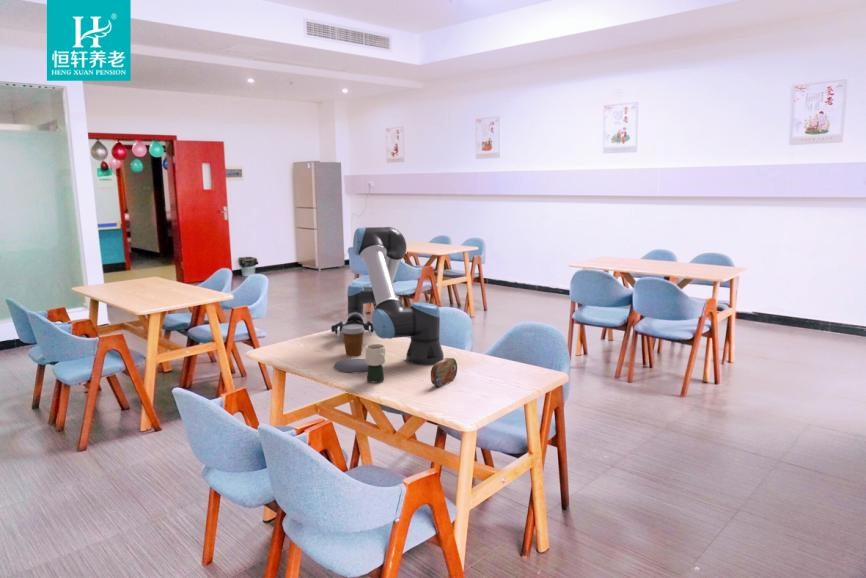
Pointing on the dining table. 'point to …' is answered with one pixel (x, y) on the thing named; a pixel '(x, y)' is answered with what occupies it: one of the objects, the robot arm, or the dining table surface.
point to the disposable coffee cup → (353, 339)
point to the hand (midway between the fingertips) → (354, 332)
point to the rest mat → (351, 365)
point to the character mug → (375, 362)
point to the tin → (443, 372)
